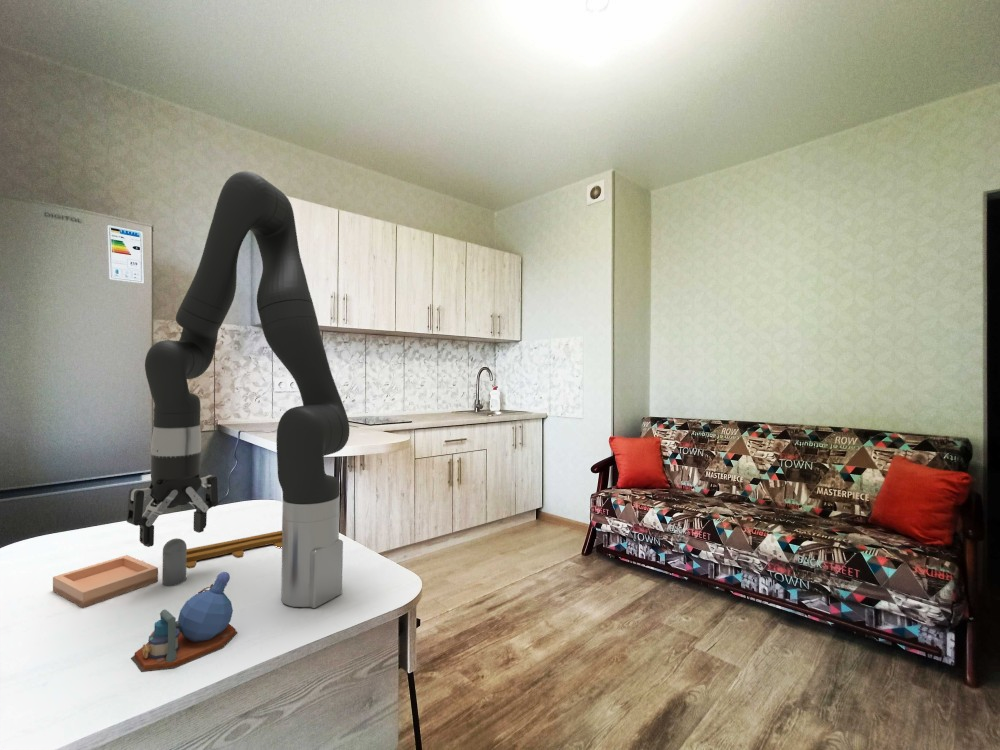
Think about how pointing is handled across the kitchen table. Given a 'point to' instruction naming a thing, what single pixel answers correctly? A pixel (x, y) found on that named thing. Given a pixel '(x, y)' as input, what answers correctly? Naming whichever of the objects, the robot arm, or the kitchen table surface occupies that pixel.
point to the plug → (174, 562)
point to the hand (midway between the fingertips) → (174, 538)
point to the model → (190, 630)
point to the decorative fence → (232, 547)
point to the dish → (104, 580)
